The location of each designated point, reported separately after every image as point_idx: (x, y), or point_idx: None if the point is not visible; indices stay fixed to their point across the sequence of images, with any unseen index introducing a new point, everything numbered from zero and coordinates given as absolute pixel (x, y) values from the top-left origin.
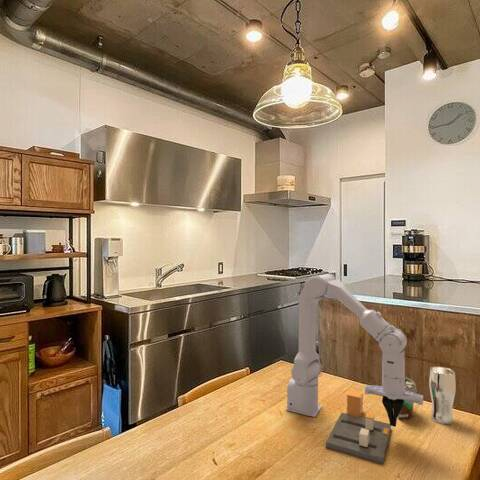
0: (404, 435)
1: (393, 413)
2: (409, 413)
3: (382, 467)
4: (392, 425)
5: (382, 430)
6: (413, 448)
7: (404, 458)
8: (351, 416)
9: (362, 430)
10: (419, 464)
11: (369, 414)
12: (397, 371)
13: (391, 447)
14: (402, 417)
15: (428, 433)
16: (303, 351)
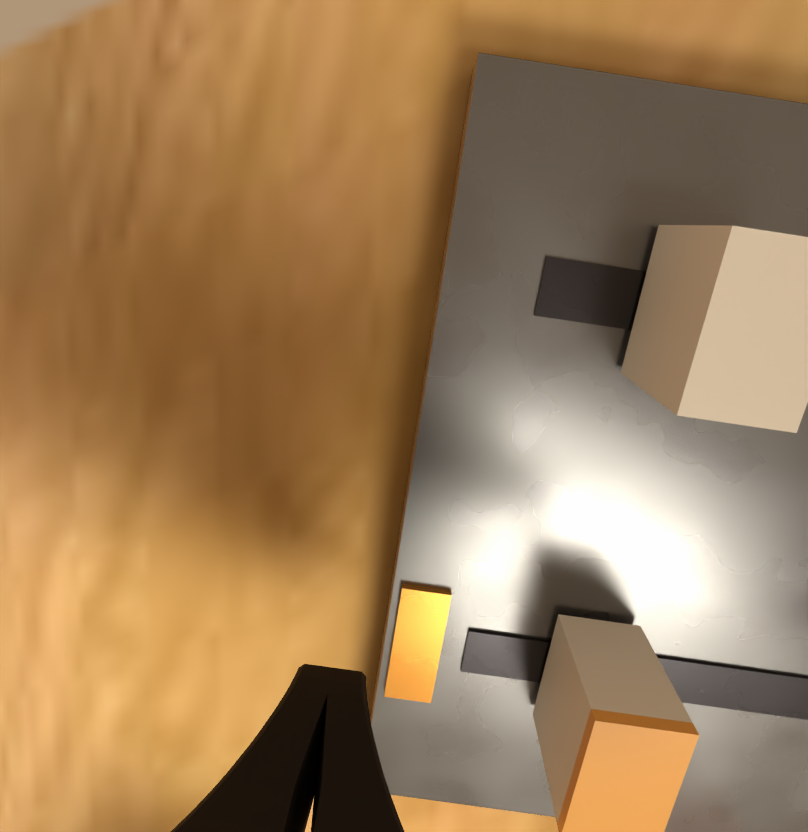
0: (246, 686)
1: (286, 812)
2: None
3: (479, 5)
4: (335, 672)
5: (450, 655)
6: (164, 501)
7: (245, 289)
8: (762, 813)
9: (790, 366)
10: (100, 232)
11: (630, 809)
12: None
13: (368, 446)
14: None
15: (49, 776)
16: None
